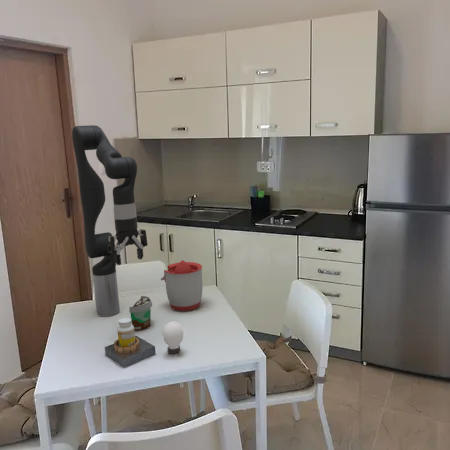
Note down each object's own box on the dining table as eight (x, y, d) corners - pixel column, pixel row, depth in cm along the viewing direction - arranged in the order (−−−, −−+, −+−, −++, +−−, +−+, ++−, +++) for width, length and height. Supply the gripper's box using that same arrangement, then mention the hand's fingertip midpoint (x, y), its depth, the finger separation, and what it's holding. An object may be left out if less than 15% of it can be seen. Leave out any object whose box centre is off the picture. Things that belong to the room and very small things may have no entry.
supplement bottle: (134, 350, 152) (131, 323, 150) (117, 351, 152) (115, 324, 150) (136, 343, 158) (134, 316, 156) (120, 344, 158) (118, 317, 156)
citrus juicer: (168, 299, 205) (164, 255, 201) (207, 299, 202) (204, 254, 198) (158, 313, 190) (154, 266, 186) (200, 314, 187) (197, 266, 183)
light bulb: (166, 359, 152) (163, 327, 150) (162, 349, 159) (160, 319, 156) (186, 355, 154) (184, 324, 152) (182, 346, 160) (180, 316, 158)
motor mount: (105, 355, 157) (103, 341, 156) (136, 343, 164) (135, 330, 163) (123, 368, 148) (122, 353, 147) (155, 354, 156) (154, 340, 155)
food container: (147, 333, 172) (144, 308, 170) (131, 332, 173) (128, 307, 171) (158, 319, 183) (156, 295, 181) (143, 319, 185) (141, 295, 183)
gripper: (137, 211, 168) (141, 255, 171) (101, 218, 159) (105, 264, 162) (149, 214, 162) (152, 259, 166) (112, 221, 153) (116, 268, 157)
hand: (129, 261), depth 164 cm, fingers open, 8 cm apart
